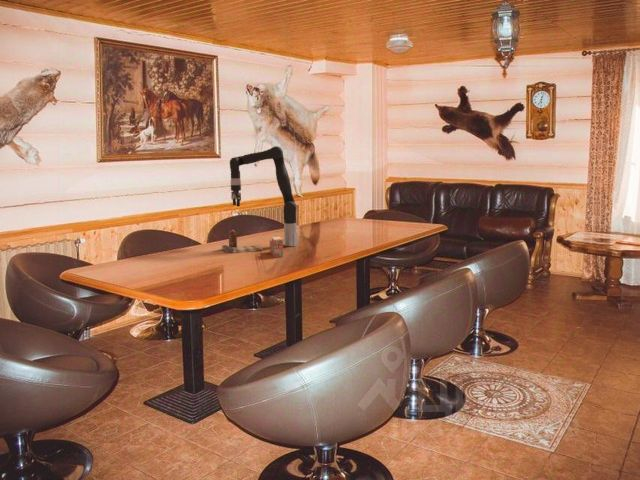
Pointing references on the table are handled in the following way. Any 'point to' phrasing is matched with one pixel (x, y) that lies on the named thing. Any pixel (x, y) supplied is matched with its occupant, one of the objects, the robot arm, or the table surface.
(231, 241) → the brown pillar with knob
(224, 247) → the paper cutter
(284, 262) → the table surface
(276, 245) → the stack of blocks
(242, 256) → the table surface
